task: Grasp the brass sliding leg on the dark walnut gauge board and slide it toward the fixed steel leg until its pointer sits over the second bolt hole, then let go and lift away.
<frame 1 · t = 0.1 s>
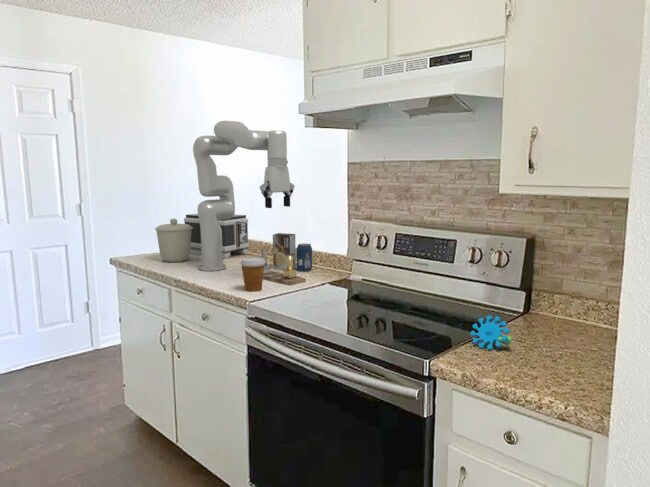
hand: (277, 207, 201), 31 cm above the worktop, tool pointing down, fingers open, 9 cm apart
sliding leg: (287, 266, 209), point 6 cm above the worktop, slide at 0.0 cm
canister: (175, 260, 255), on the worktop
microwave oven: (219, 254, 273), on the worktop
coffee box: (284, 268, 237), on the worktop
disposable coffee cup: (253, 290, 197), on the worktop
soda can: (304, 270, 232), on the worktop
gear: (490, 347, 136), on the worktop
gauge board: (277, 279, 215), on the worktop
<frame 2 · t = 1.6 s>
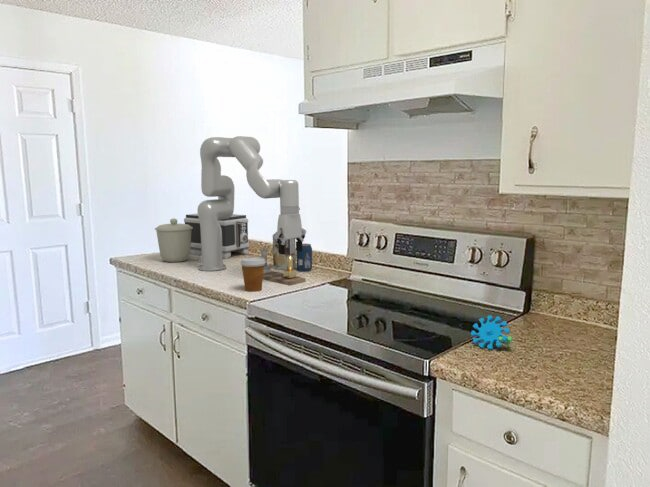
hand: (290, 252, 208), 12 cm above the worktop, tool pointing down, fingers open, 9 cm apart
nothing on the worktop moved.
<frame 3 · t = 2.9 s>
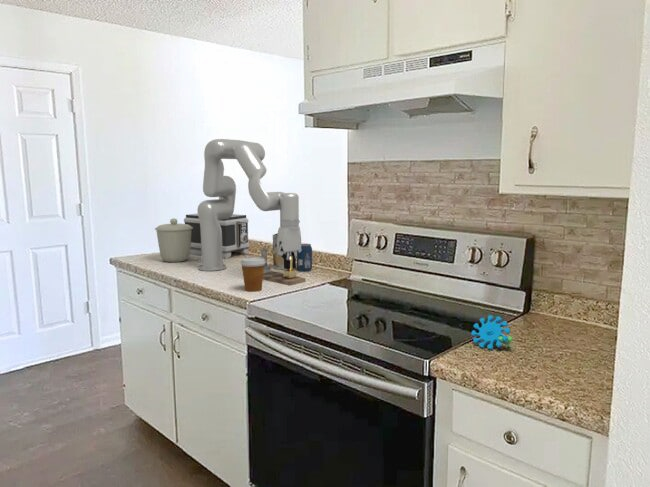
hand: (289, 267, 210), 6 cm above the worktop, tool pointing down, fingers closed on sliding leg, 2 cm apart
sliding leg: (287, 266, 209), point 6 cm above the worktop, slide at 0.0 cm, touching gripper
everything else where it was.
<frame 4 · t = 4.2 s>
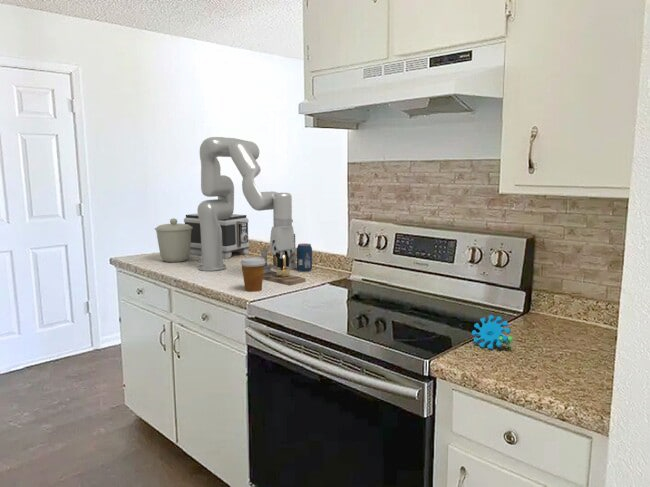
hand: (283, 266, 212), 6 cm above the worktop, tool pointing down, fingers closed on sliding leg, 2 cm apart
sliding leg: (281, 265, 211), point 6 cm above the worktop, slide at 4.0 cm, touching gripper
everything else where it was.
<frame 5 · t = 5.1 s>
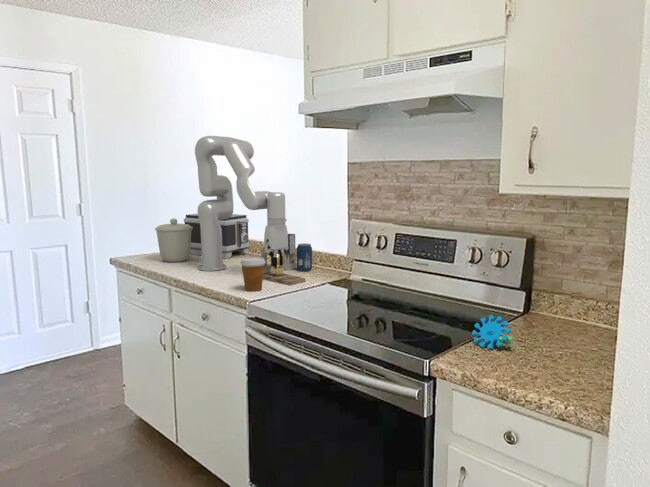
hand: (277, 265, 215), 6 cm above the worktop, tool pointing down, fingers closed on sliding leg, 2 cm apart
sliding leg: (274, 264, 214), point 6 cm above the worktop, slide at 7.9 cm, touching gripper
everything else where it was.
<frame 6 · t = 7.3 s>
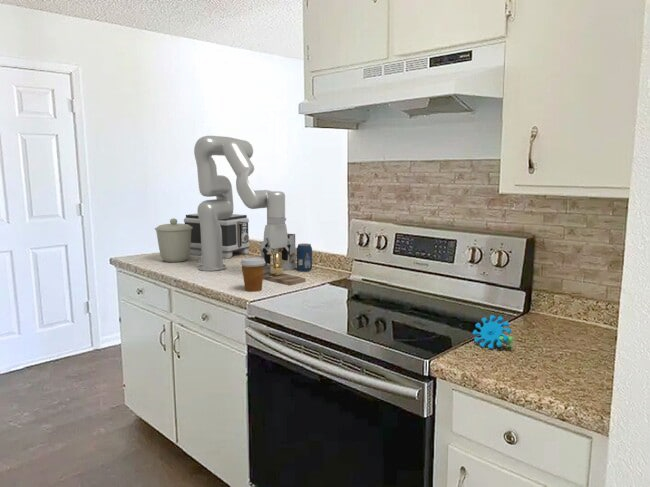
hand: (276, 261, 215), 7 cm above the worktop, tool pointing down, fingers open, 9 cm apart
sliding leg: (274, 264, 214), point 6 cm above the worktop, slide at 8.0 cm
everything else where it was.
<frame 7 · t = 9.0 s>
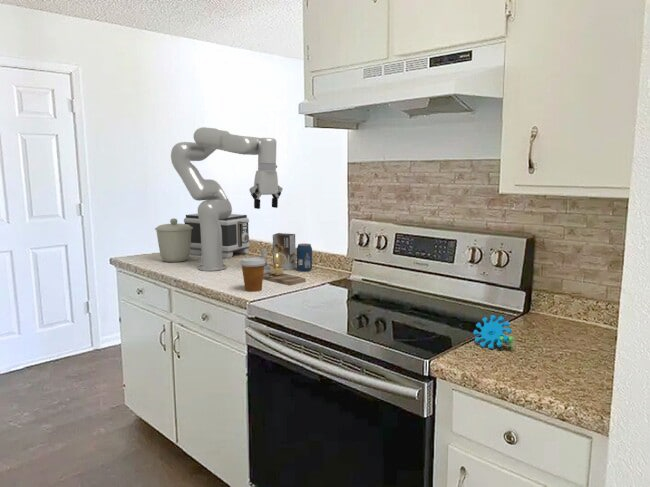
hand: (265, 208, 219), 29 cm above the worktop, tool pointing down, fingers open, 9 cm apart
nothing on the worktop moved.
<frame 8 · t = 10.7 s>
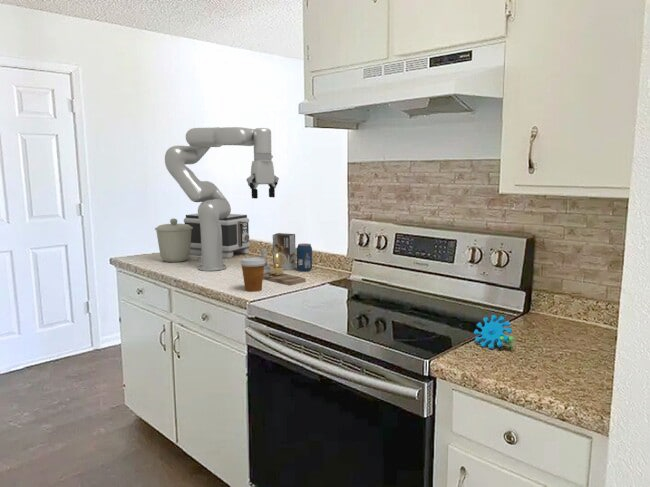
hand: (263, 197, 221), 33 cm above the worktop, tool pointing down, fingers open, 9 cm apart
at the end: sliding leg slide at 8.0 cm; the gripper is holding nothing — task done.
